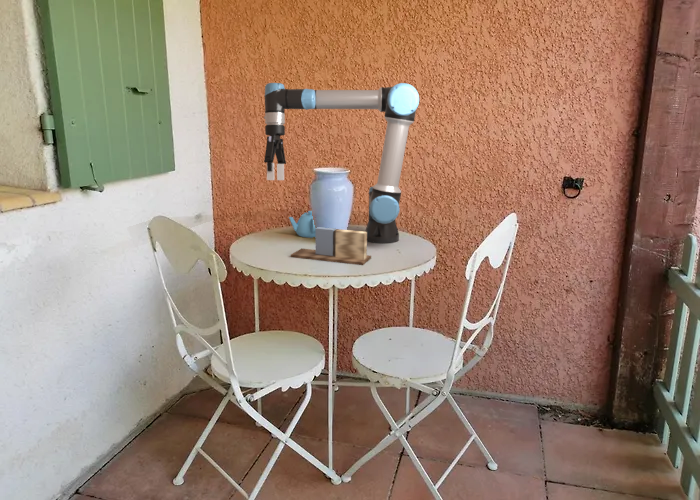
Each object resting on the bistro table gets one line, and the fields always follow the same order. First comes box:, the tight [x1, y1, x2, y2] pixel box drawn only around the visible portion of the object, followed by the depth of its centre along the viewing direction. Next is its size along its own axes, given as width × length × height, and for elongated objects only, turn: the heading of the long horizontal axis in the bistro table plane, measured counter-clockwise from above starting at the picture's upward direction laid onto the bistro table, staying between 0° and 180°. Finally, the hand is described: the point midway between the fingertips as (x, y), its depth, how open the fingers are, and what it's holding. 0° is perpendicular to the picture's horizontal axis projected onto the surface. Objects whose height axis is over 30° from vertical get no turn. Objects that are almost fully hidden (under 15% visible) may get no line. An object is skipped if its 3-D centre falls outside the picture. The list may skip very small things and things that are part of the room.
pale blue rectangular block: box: [315, 227, 337, 256], centre depth 206 cm, size 7×3×10 cm, turn 70°
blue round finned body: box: [288, 210, 316, 239], centre depth 243 cm, size 15×15×11 cm
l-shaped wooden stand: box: [290, 228, 372, 266], centre depth 206 cm, size 29×10×11 cm, turn 70°
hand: (275, 180), depth 214 cm, fingers open, 13 cm apart
